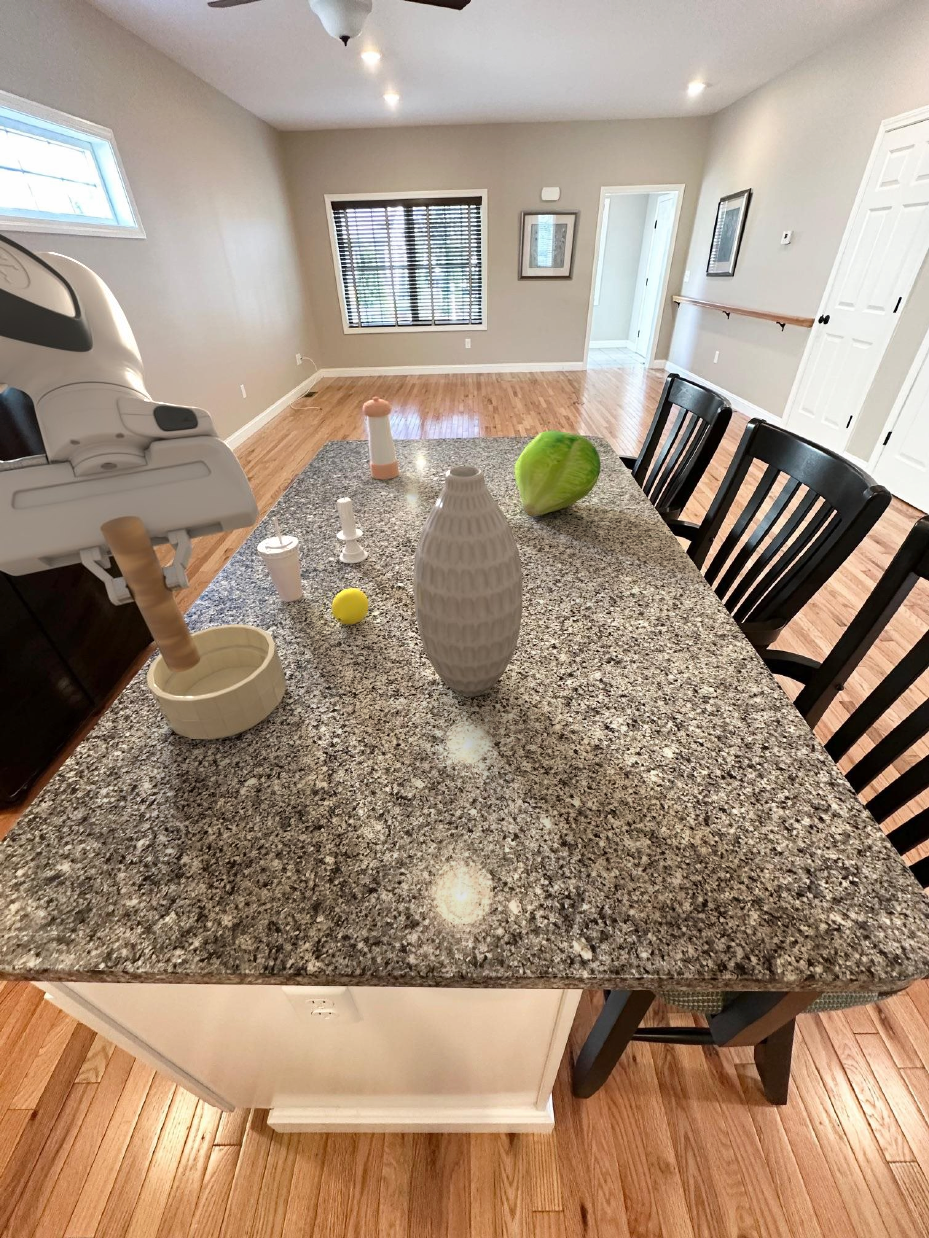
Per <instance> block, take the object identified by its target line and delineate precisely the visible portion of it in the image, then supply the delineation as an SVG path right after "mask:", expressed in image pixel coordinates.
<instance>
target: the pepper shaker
mask: <svg viewBox="0 0 929 1238" xmlns="http://www.w3.org/2000/svg"><path fill="white" fill-rule="evenodd" d="M362 412H363V414H364V415H365V416H366V421H367V429H368V452H369V459H370V461H369V469H370V476H371V478H372V479H375V480H389V479H393V478H396V477H398V476H399V474H400V471H399V461H398V459H397V457H396V446H395V442H394V438H393V434H392V430H391V420H390V414H391V413H392V405H391V404H390V403H389V401H387V400H385V399H380V397H379V396H373V397H372V399H370V400H367V401H366V402H365V403H363V405H362Z"/></svg>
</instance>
